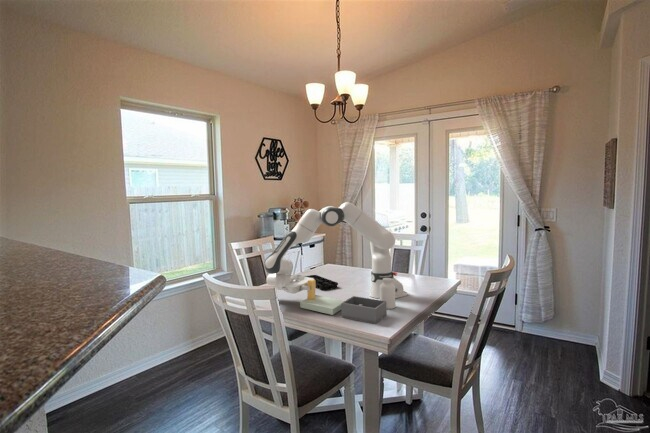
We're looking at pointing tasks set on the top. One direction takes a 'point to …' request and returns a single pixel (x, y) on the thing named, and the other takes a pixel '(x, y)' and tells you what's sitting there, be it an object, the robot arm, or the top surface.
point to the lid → (320, 301)
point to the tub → (363, 309)
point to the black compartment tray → (323, 283)
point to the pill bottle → (388, 292)
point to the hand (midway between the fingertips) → (312, 287)
